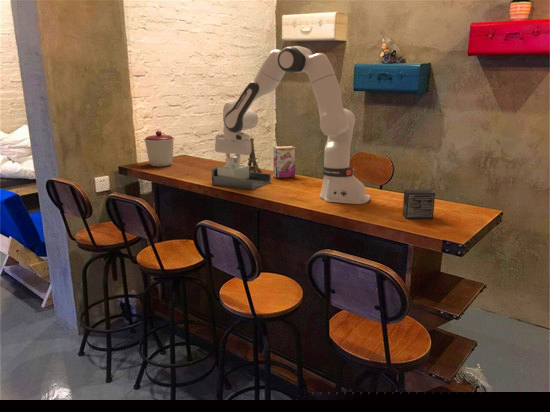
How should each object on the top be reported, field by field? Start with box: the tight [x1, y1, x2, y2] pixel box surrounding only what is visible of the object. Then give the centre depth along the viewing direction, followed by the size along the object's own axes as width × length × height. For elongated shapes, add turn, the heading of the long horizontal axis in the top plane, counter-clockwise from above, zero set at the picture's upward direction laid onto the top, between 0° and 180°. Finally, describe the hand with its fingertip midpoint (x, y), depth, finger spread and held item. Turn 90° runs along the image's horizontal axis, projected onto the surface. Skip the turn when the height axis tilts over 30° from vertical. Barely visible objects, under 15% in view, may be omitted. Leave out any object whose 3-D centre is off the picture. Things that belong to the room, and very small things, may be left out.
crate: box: [216, 155, 249, 180], centre depth 231 cm, size 10×14×12 cm
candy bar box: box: [272, 145, 297, 179], centre depth 243 cm, size 11×5×16 cm, turn 110°
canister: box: [143, 130, 175, 168], centre depth 275 cm, size 18×18×21 cm
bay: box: [211, 164, 272, 191], centre depth 230 cm, size 24×18×8 cm
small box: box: [402, 188, 436, 220], centre depth 175 cm, size 11×6×10 cm, turn 88°
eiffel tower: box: [247, 137, 263, 173], centre depth 244 cm, size 11×11×25 cm
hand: (233, 162), depth 230 cm, fingers closed on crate, 2 cm apart
